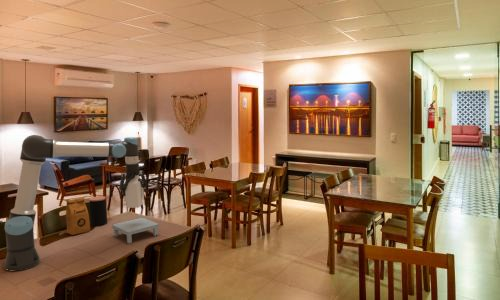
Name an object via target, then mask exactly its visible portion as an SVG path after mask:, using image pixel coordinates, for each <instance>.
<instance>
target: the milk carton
mask: <svg viewBox="0 0 500 300" xmlns="http://www.w3.org/2000/svg"><path fill="white" fill-rule="evenodd" d="M139 177H140V174H139V175H137V176H136V175H135V178H133V179H131V180H130V182H129V183H128V186H127V188H126V191H127V201H128V202H126V201H125V202H126V204H125V205H126V209H128V208H129V209H131V208H133V209H136V208H137V209H139V208H140V207H141V206H142V205H143V198H142V192H141V183H140V181H138V178H139ZM139 179H141V177H140V178H139Z"/></svg>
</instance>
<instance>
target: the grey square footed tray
mask: <svg viewBox="0 0 500 300" xmlns="http://www.w3.org/2000/svg"><path fill="white" fill-rule="evenodd" d="M159 227H160V225H159V223H157V222H154V221H151V220H149V219H147V218H145V217H139V218H134V219H132V220H126V221H122V222H118V223H114V224H112V226H111V228H112V229H113V237H119V233H122V234H124V235H126V243H127V244H131V243H133V239H132V236H133V235H134V234H138V233H143V232H146V231H150V230H152V235H153V236H154V237H156V235H157V236H159V229H158V228H159Z"/></svg>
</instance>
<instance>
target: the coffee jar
mask: <svg viewBox="0 0 500 300" xmlns="http://www.w3.org/2000/svg"><path fill="white" fill-rule="evenodd" d="M106 199H107V198H106V196H104V195H102V196H101V195H100V196H98V195H97V196H93V197H90V198H88V201H89V202H88V207H89V208H88V209H89V211H88V212H89V220H90V226H91V227H101V226H105V225H106V224H107V223H108V212H107V211H108V210H107V200H106Z"/></svg>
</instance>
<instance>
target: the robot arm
mask: <svg viewBox="0 0 500 300" xmlns="http://www.w3.org/2000/svg"><path fill="white" fill-rule="evenodd" d="M138 142H139V141H138V138H137V137H135V136H133V137H132V136H130V137H129V136H128V137H127V136H126V137H124V139H123V140H122V141H121V140H120V141H104V142H89V141H88V142H86V141H84V142H83V141H56V140H55V139H53V138H46V137H43V136H42V135H38V134H31V135H29V136H27V137H25V139H24V140H23V141H22V144H21V150H20V151H21V152H20V157H19V160H20V161H21V162H22V165H21V171H20V176H19V181H18V185H17V186H18V187H17V192H16V198H15V203H14V207H13V208H11V209H10V212H9V216H8V219H7V220H6V221H5V223H4V231H5V241H6V252H7V253H6V256H5V260H4V263H3V268H5V269H8V270H20V271H22V270H21V269H25V270H27V269H26V268H29V269H31V268H34V267H35V265H36V266H38V265H39V264H40V263H41V262H40V261H41V258H40V255H39V253H38V251H37V249H36V247H35V245H36V244H35V234H34V227H35V226H34V225H35V219H36V214H37V211H36V210H35V209H34V206H35V203H36V196H37V193H38V184H39V179H40V175H41V169H42V165H44V164H45V163H46V161H47V159H54V158H55V157H94V158H95V157H102V158H103V157H108V158H123V157H125V161H124V162H125V172H124V173H122V172H121V173H120V181H119V187H118V190H120V191H121V192H122V194H121V195H122V197H123V201H124V202H128V201H127V191H126V188H127V186H128V183H129V182H130V180H131V179H133V178H135V175H136V176H137V175H139V178H140V179H139V178H138V181H140V183H141V192H142V199H145V195H144V194H145V192H146V191H145V188H146V187H147V186H148V181H147V178H146V176H145V171H144V170H140V164H139V161H140V160H139V143H138ZM39 262H40V263H39ZM38 263H39V264H38ZM33 266H34V267H33ZM30 267H31V268H30ZM5 269H4V270H5Z"/></svg>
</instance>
